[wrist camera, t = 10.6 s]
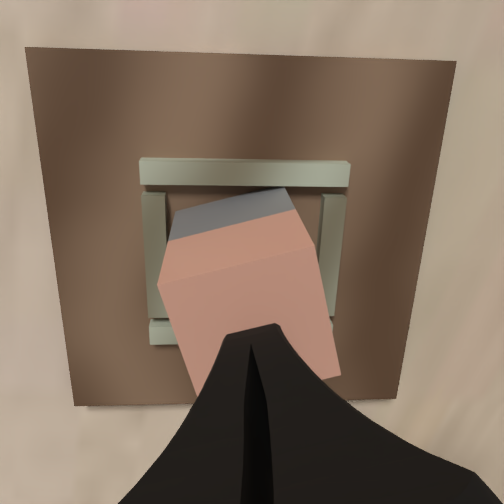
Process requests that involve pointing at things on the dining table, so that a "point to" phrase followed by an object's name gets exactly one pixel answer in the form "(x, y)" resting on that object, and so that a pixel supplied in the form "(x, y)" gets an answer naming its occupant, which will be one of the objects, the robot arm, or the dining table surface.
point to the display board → (228, 185)
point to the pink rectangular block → (244, 280)
